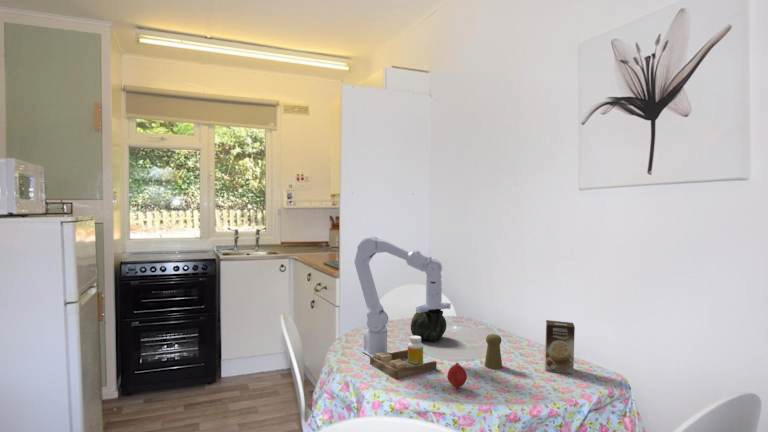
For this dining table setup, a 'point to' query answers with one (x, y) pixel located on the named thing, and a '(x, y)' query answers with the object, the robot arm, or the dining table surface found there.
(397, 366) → the block
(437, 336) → the squash
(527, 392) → the dining table surface
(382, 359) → the block
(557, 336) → the coffee box
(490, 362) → the cork
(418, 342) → the supplement bottle
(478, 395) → the dining table surface
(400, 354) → the corral
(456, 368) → the onion
